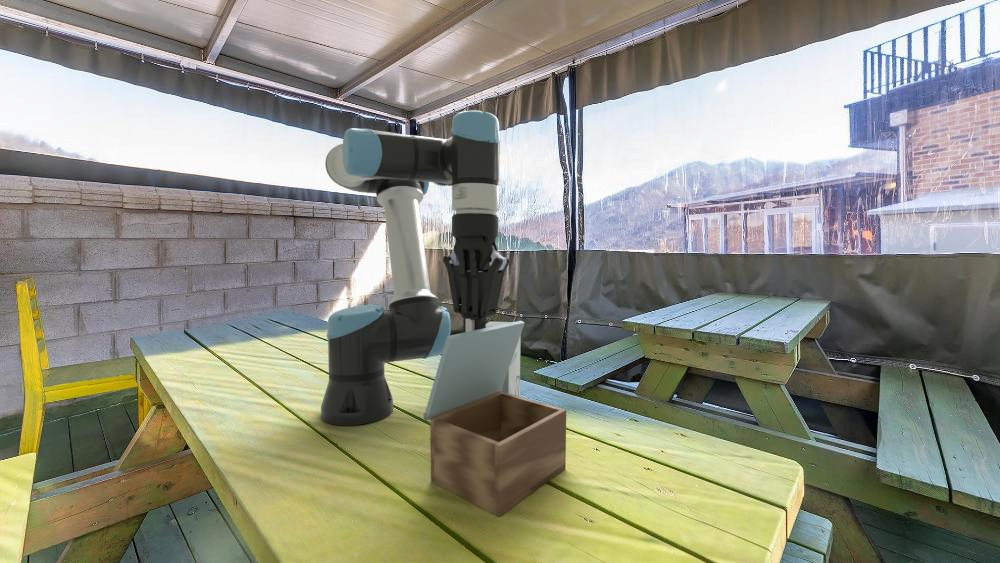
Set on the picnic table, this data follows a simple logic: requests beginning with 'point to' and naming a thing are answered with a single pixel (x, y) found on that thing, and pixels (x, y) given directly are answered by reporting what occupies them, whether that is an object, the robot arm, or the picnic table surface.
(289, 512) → the picnic table surface
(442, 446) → the crate
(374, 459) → the picnic table surface
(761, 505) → the picnic table surface
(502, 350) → the lid
